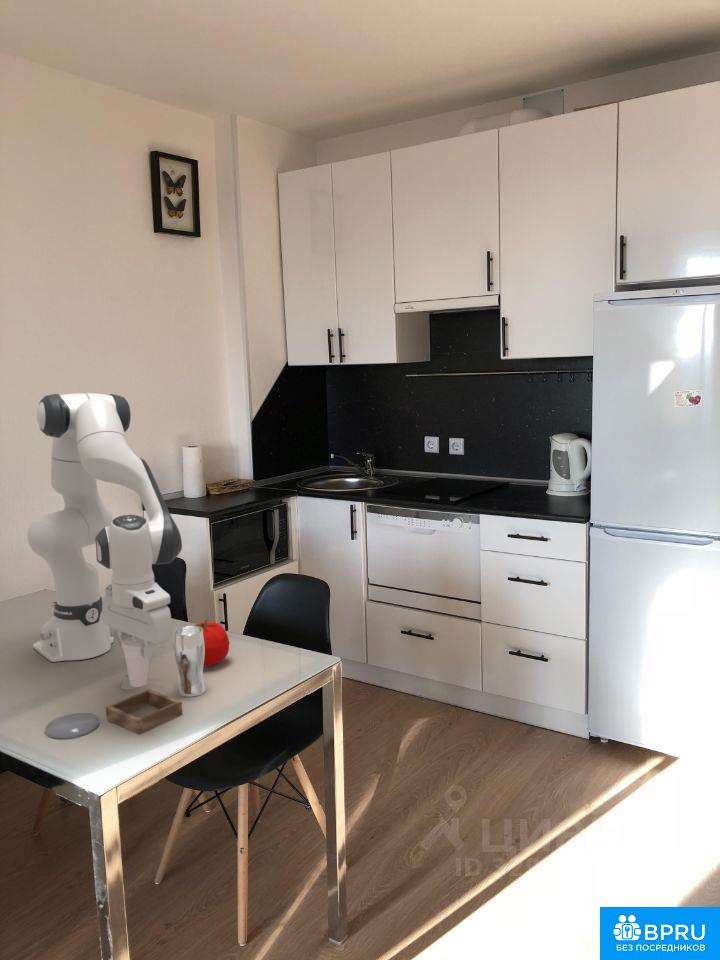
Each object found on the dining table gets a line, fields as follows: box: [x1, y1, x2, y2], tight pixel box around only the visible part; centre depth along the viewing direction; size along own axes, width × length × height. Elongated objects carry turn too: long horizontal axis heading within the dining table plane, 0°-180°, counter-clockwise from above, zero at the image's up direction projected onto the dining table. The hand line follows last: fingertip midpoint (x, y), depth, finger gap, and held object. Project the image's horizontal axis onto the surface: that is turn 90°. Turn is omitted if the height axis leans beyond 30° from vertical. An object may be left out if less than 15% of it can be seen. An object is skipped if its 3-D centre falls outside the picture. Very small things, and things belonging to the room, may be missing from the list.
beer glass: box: [173, 625, 206, 698], centre depth 192 cm, size 7×7×15 cm
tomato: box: [194, 618, 230, 667], centre depth 208 cm, size 12×12×11 cm
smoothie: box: [121, 636, 151, 688], centre depth 178 cm, size 6×6×14 cm
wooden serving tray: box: [105, 689, 183, 735], centre depth 180 cm, size 12×12×3 cm
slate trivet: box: [44, 712, 101, 740], centre depth 177 cm, size 11×11×1 cm
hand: (137, 653), depth 178 cm, fingers closed on smoothie, 6 cm apart
